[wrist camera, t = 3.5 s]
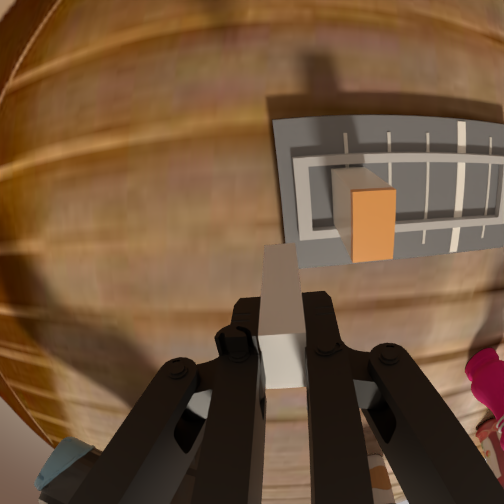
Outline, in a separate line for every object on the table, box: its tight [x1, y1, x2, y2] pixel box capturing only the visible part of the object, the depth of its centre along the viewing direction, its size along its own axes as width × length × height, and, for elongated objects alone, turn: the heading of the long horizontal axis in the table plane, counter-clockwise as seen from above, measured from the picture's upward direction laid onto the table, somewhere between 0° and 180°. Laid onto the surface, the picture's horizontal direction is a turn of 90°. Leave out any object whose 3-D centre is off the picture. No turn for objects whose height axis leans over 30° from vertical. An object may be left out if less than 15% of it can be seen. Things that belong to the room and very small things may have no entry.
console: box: [273, 114, 504, 269], centre depth 26 cm, size 26×14×3 cm, turn 97°
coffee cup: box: [367, 455, 395, 504], centre depth 45 cm, size 8×8×15 cm
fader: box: [331, 167, 396, 263], centre depth 23 cm, size 3×5×8 cm, turn 7°
